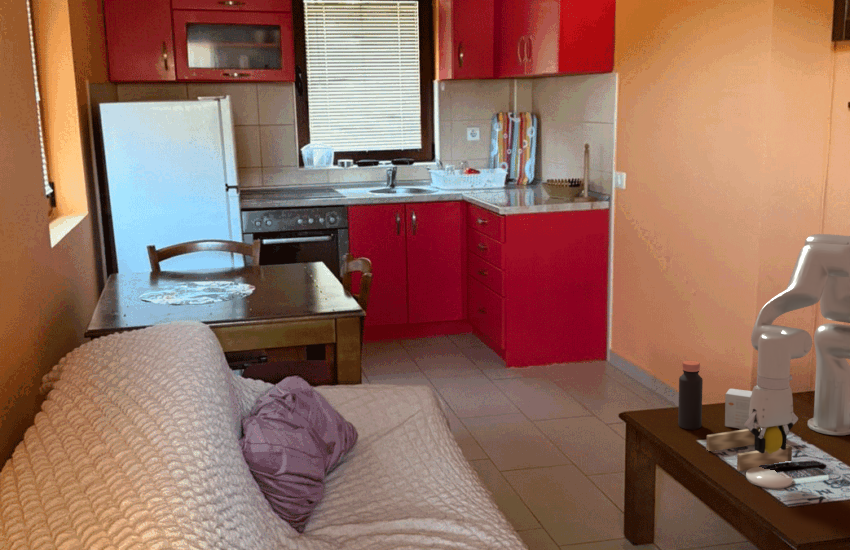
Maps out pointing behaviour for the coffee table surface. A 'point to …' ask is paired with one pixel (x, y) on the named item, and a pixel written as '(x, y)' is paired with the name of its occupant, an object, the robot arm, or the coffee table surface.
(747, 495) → the coffee table surface
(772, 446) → the lemon
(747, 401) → the small box
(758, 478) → the saucer
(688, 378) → the vinegar
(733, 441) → the pine box
